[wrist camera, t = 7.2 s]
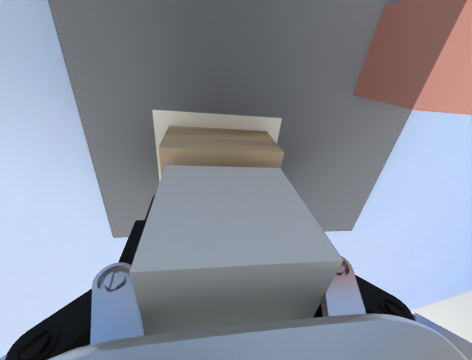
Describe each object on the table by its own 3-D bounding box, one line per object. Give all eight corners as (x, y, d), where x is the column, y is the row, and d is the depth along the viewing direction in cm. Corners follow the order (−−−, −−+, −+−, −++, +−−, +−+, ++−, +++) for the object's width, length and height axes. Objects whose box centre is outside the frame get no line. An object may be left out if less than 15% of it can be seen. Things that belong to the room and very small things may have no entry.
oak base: (168, 125, 14) (158, 147, 11) (266, 130, 16) (284, 152, 12) (174, 206, 18) (167, 242, 14) (253, 205, 19) (264, 238, 16)
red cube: (384, 6, 13) (476, -19, 8) (451, 17, 13) (567, 0, 9) (353, 94, 15) (412, 109, 11) (411, 99, 16) (487, 115, 12)
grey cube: (165, 165, 10) (129, 271, 5) (280, 168, 11) (343, 260, 6) (172, 248, 13) (153, 368, 8) (262, 245, 14) (295, 350, 9)
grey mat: (5, -178, 8) (-5, -190, 8) (488, -55, 12) (497, -59, 12) (114, 234, 19) (112, 238, 19) (349, 228, 23) (351, 230, 23)
